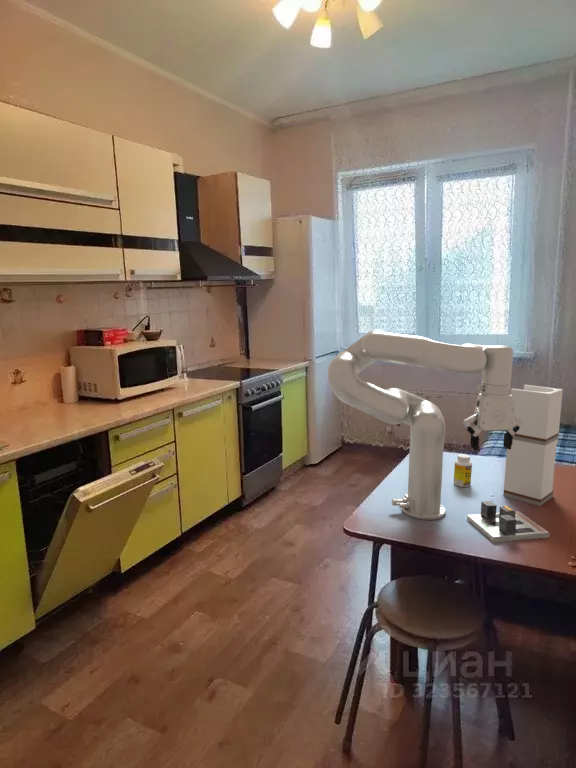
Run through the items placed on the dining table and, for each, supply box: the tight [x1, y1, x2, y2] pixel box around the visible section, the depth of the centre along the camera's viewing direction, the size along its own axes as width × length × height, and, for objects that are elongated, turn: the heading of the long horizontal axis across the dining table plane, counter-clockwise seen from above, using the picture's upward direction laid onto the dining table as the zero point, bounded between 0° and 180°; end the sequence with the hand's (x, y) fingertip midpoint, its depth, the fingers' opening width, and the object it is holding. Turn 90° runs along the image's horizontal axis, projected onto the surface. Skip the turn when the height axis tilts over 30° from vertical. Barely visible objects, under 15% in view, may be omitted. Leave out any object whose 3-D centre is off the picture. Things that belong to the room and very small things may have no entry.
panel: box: [466, 500, 550, 543], centre depth 145 cm, size 16×14×6 cm
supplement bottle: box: [453, 453, 473, 488], centre depth 178 cm, size 6×6×10 cm
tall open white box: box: [502, 384, 564, 507], centre depth 166 cm, size 11×11×35 cm
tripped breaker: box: [498, 505, 517, 521], centre depth 145 cm, size 3×3×4 cm
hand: (490, 448), depth 150 cm, fingers open, 9 cm apart
